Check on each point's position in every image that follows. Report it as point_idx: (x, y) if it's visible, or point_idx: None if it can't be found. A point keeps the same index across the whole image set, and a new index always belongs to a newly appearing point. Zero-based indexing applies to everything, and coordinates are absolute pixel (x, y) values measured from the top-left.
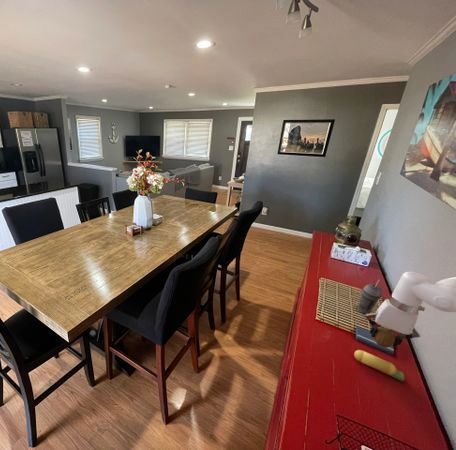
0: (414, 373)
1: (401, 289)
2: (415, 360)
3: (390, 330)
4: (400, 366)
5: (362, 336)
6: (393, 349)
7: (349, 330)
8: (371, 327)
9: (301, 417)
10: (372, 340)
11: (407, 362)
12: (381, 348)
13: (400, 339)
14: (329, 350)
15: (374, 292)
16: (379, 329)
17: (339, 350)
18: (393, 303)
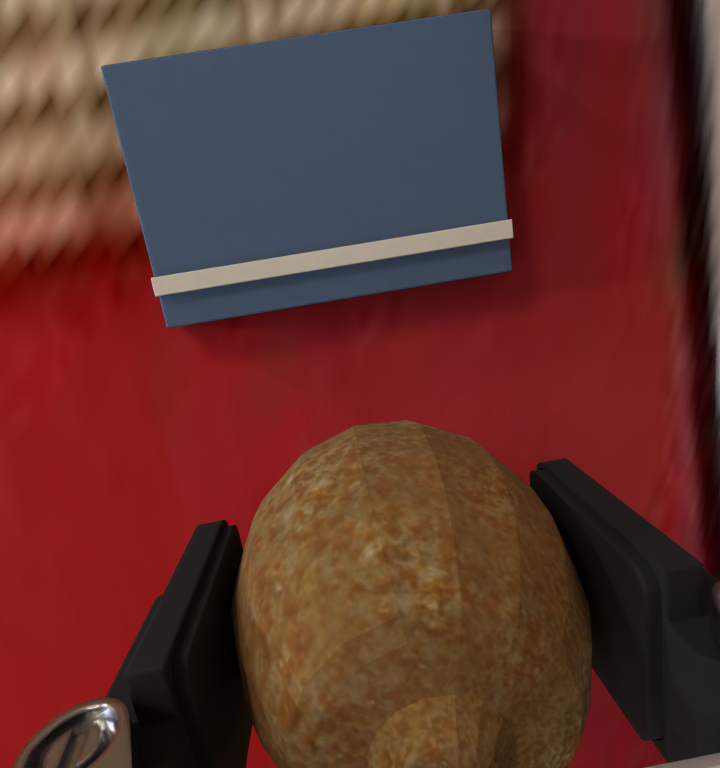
0: (652, 387)
1: None
2: (684, 167)
3: (499, 662)
4: (557, 391)
5: (207, 254)
6: (509, 223)
7: (75, 209)
8: (124, 683)
9: None
10: (309, 234)
11: (614, 273)
12: (404, 286)
13: (690, 755)
14: (52, 693)
15: None
16: (267, 744)
17: (113, 625)
18: None
